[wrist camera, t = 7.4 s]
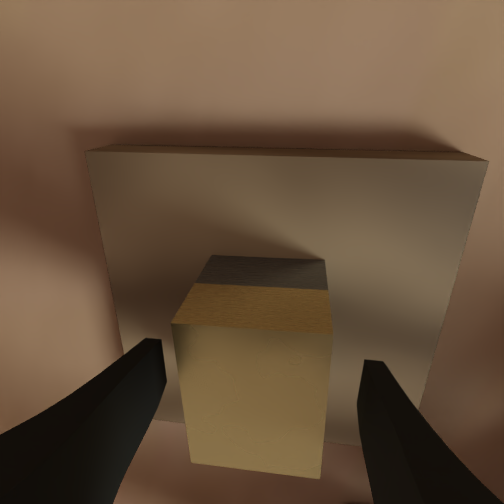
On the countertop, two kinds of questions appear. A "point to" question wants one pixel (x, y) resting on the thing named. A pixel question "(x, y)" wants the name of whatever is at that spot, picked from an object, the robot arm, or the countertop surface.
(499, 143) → the countertop surface
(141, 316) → the walnut stand
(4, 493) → the robot arm
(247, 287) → the block
